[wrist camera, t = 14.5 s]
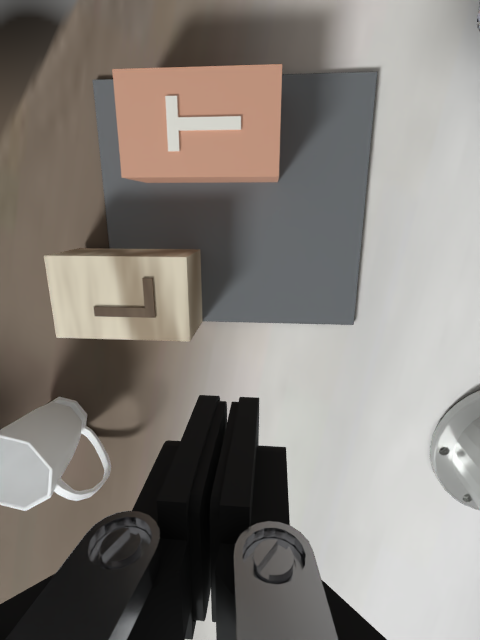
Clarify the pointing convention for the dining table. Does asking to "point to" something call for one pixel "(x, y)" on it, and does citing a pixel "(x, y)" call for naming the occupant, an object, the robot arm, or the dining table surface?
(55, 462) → the cup
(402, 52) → the dining table surface
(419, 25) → the dining table surface
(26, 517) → the dining table surface
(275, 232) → the rubber mat
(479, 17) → the food plate
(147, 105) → the terracotta block
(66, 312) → the beech block
